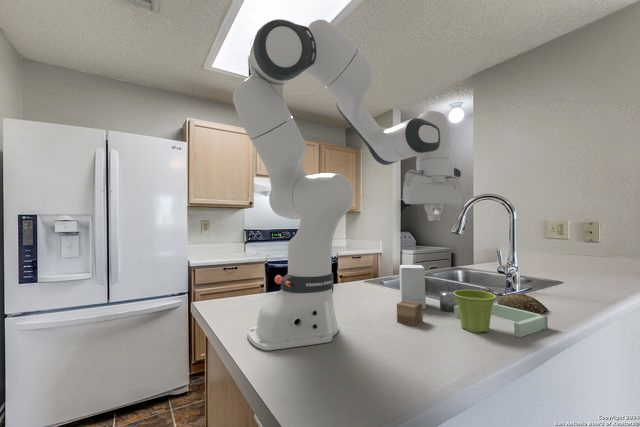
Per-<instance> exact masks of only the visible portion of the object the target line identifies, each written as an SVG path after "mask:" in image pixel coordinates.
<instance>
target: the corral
mask: <svg viewBox="0 0 640 427" xmlns="http://www.w3.org/2000/svg"><path fill="white" fill-rule="evenodd" d="M491 316H496V317H498V318H499V317H500V318H503V319H506V320H511V321H514V323H513V329H514V330H513V331H514V337H516V338H519V337H521V338H523V336H524V337H526V335H527V336H529V334H530V335H532V333H533V334H535V333H538V332H541V331H543V330H542V329H544V330H546V329H545V328H547V329H548V328H549V327H548V324H549V323H548V315H544V314H536V313H532V312H528V311H524V310H520V309H515V308H511V307H507V306H503V305H499V304H497V303H493V305H492V310H491ZM453 317H454V318H456V319H460V314H459V309H458V305H457V306H454V312H453ZM540 330H541V331H540ZM537 331H538V332H537ZM534 332H535V333H534Z"/></svg>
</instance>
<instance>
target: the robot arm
mask: <svg viewBox="0 0 640 427" xmlns="http://www.w3.org/2000/svg"><path fill="white" fill-rule="evenodd" d="M247 63H248V77H247V78H245V79H244V80H243V81H241V82H240V83H239V84H238V85H237V86H236V88H234V91H233V94H232V102H233V104H234V108H235V111H236V113H237V115H238V118H239V120H240V122H241V125H242V127H243V129H244V130H245V133H246V135H247V137H248V138H249V139H250V142H251V143H252V146H253V147H254V149H255V150H256V152H257V154H258V156H259V157H260V160H261V161H262V163H263V165H264V167H265V169H266V172H267V174H268V177H269V182H270V191H269V192H270V193H269V196H268V197H269V199H268V202H269V205H270V209H271V211H272V212H273V213H275V215H277V216H279V217H283V218H286V219H288V220H300V221H299V226H298V229H297V231H296V233H295V235H294V236H293V237H291V239H290V240H289V241H288V244H287V274H286V275H284V276H281V275H280V274H277V275H276V276H275V277H274V282H275V284H277V285H280V290H279V291H278V292H277V293H276V294H274V295H273V296H272V297H271V298H269V300H268V301H267V302H265V303H264V304H263V305H262V306H261V307H260V308H259V310H258V315H257V321H256V325H253V326H251V327H249V329H248V330H247V339H248V340H249V342H250V343H251V344H252V345H253V346H254V347H256V348H258V349H260V350H262V351H273V350H274V351H275V350H280V349H281V350H282V349H290V348H296V347H298V348H299V347H303V346H311V345H318V344H325V343H330V342H332V341H333V338H334V336H335V335H336V334H338V333H339V330H340V327H339V323H338V320H337V317H336V312H335V307H334V306H335V305H334V299H333V298H334V297H333V293H334V273H333V272H332V248H333V241H334V236H335V232H336V230H337V227H338V225H339V223H340V221H341V219H342V218H343V217H344V216H346V214H347V212H349V211H350V209H351V208H352V205H353V203H354V199H355V198H354V197H355V192H354V189H353V188H354V187H353V185H352V183H351V182H350V180H349V178H347V176H345V175H343V174H341V173H333V172H322V173H316V174H315V173H314V174H310V175H308V174H306V171H305V169H304V164H303V159H304V158H305V155H306V154H307V151H308V150H307V144H306V143H307V142H306V141H305V139H304V137H303V135H302V133H301V131H300V129H299V127H298V125H297V123H296V121H295V119H294V117H293V116H292V113H291V112H290V110H289V108H288V106H287V104H286V101H285V98H284V86H285V84H288V83H290V82H291V81H292V80H294V79H295V78H297V77H298V76H299V75H301V74H302V73H306V74H308V75H311V76H312V77H313V78H315V79H316V80H317V81H318V82H319V83H320V84H321V85H322V86H323V87H324V88H325V89H326V91H328V93H330V95H331V96H332V97H333V99H334V100H335V102H336V103H335V104H336V107H337V109H338V112H339V113H340V115H341V116H342V117H343V118H344V119H345V121H346V122H347V123H348V125H349V126H350V127H351V129H352V130H353V131H354V132H355V133H356V135H357V136H358V137H359V138H360V139H361V140H362V141H363V143H364V144H365V146H366V147H367V149H368V150H369V153H370V154H371V156H372V158H374V160H375V161H376V162H378V164H380V165H383V166H384V165H385V166H389V165H392V164H394V163H397V162H399V161H402V160H407V159H411V158H413V157H415V158H416V169H408V171H406V173H405V174H404V182H403V188H402V201H403V202H404V204H405V205H424V211H425V212H426V214H427V221H428V222H435V221H436V222H438V221H441V214H442V212H443V210H444V206H459V205H461V204H462V202H463V200H464V192H463V190H464V189H463V188H464V186H463V181H462V180H461V179H462V178H463V174H464V173H463V171H462V170H461V169H459V168H457V167H456V166H454V165H453V164H452V163H451V158H450V155H449V154H450V153H449V148H450V131H449V130H450V128H449V124H448V120H447V117H446V115H445V114H444V113H442V112H441V111H436V110H431V111H425V112H422V113H421V114H419V115H418V116H416V117H415V118H411V119H408V120H405V121H403V122H400V123H398V124H396V125H392V126H391V127H388V128H386V127H383V126H380V125H379V124H378V123H377V120H375V118H374V117H373V116H372V115H371V114H370V112H369V111H368V110H367V108H366V106H365V100H366V98H367V96H368V94H369V92H370V90H371V89H372V86H373V83H374V70H373V69H374V68H373V66H372V64H371V62H370V60H369V58H368V57H367V56H366V55H365V54H364V53H363V52H362V50H360V49H359V47H358V46H357V45H356V44H355V43H354V42H353V41H352V40H351V39H350V38H349V37H348V36H347V35H345V34H344V33H343V32H342V31H341V30H340V29H338V27H337V26H335V25H333V24H331V23H330V21H328V20H326V19H317V20H314V21H312V22H310V23H309V24H308V25H307V26H305V25H301V24H298V23H295V22H292V21H290V20H288V19H283V18H282V19H281V18H280V19H279V18H277V19H276V18H275V19H272V20H269V21H267V22H265V23H263V25H262V26H261V27H259V28H258V30H257V32H256V33H255V35H254V36H253V38H252V41H251V42H250V45H249V52H248V60H247Z"/></svg>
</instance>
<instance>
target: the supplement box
mask: <svg viewBox="0 0 640 427" xmlns="http://www.w3.org/2000/svg"><path fill="white" fill-rule="evenodd" d="M425 270H426V269H425V267H424V266H423V265H422V264H400V265H399V303H400V302H402V301H404V300H408V301H414V302H419V303H422V307H423V310H425V309H427V307H426V305H427V304H426V303H427V302H426V301H427V300H426V271H425Z"/></svg>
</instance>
